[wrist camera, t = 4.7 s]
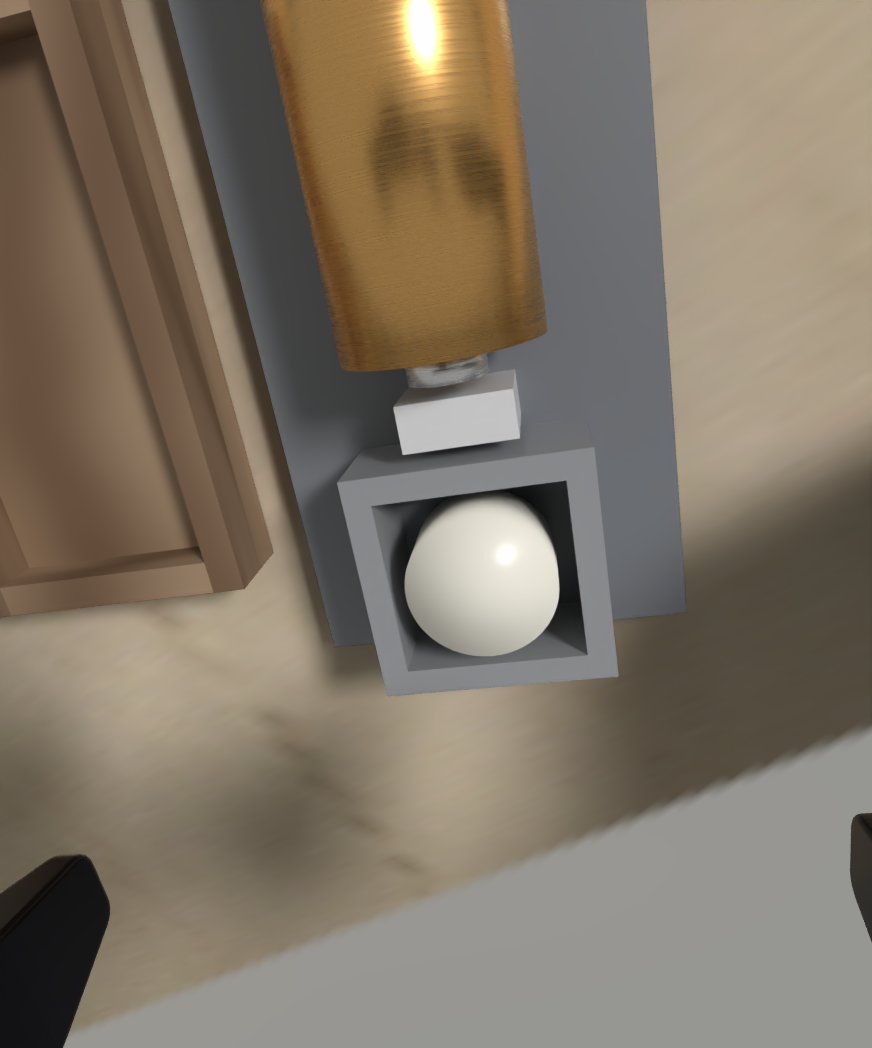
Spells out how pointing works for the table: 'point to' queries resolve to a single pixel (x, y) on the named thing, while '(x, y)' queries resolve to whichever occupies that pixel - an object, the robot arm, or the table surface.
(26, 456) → the trough
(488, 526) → the bulb
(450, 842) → the table surface
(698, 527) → the table surface
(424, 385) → the cell
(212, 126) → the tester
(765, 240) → the table surface
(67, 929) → the robot arm
